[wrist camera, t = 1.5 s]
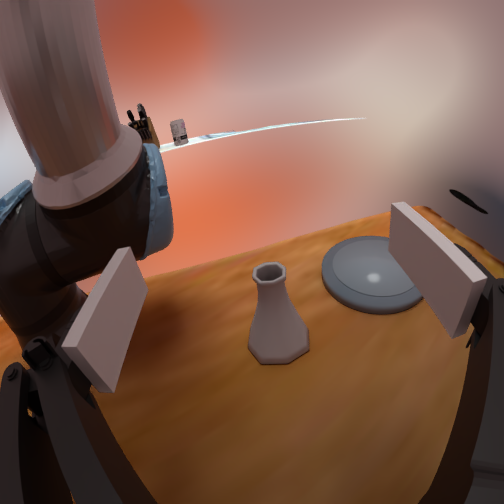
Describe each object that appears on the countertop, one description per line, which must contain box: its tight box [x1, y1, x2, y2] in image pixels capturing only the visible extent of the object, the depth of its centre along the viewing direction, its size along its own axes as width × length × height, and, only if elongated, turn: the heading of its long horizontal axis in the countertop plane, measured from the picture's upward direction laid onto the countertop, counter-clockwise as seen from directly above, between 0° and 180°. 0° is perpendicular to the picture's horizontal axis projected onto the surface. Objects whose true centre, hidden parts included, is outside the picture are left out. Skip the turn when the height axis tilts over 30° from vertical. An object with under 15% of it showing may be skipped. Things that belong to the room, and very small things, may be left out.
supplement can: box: [170, 119, 188, 146], centre depth 152 cm, size 8×8×15 cm
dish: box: [322, 236, 423, 314], centre depth 38 cm, size 16×16×2 cm
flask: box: [248, 262, 309, 364], centre depth 29 cm, size 7×7×10 cm
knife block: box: [127, 103, 160, 149], centre depth 143 cm, size 11×35×31 cm, turn 14°
